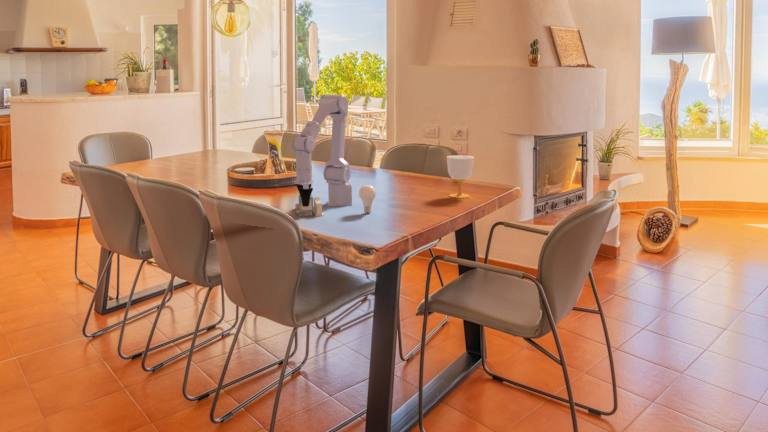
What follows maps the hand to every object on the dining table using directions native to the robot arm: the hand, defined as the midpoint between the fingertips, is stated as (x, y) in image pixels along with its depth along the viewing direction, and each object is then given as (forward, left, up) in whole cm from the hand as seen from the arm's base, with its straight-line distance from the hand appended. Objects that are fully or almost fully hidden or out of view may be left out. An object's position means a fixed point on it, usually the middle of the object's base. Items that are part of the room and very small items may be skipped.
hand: (305, 204), depth 239 cm
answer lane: (+1, -8, -4) cm, 9 cm away
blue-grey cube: (0, 0, -2) cm, 2 cm away
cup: (-69, -23, -4) cm, 72 cm away
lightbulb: (-24, +2, -4) cm, 24 cm away
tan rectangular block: (-5, -2, -4) cm, 7 cm away
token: (+1, -10, -4) cm, 10 cm away
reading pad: (0, 0, -4) cm, 4 cm away
